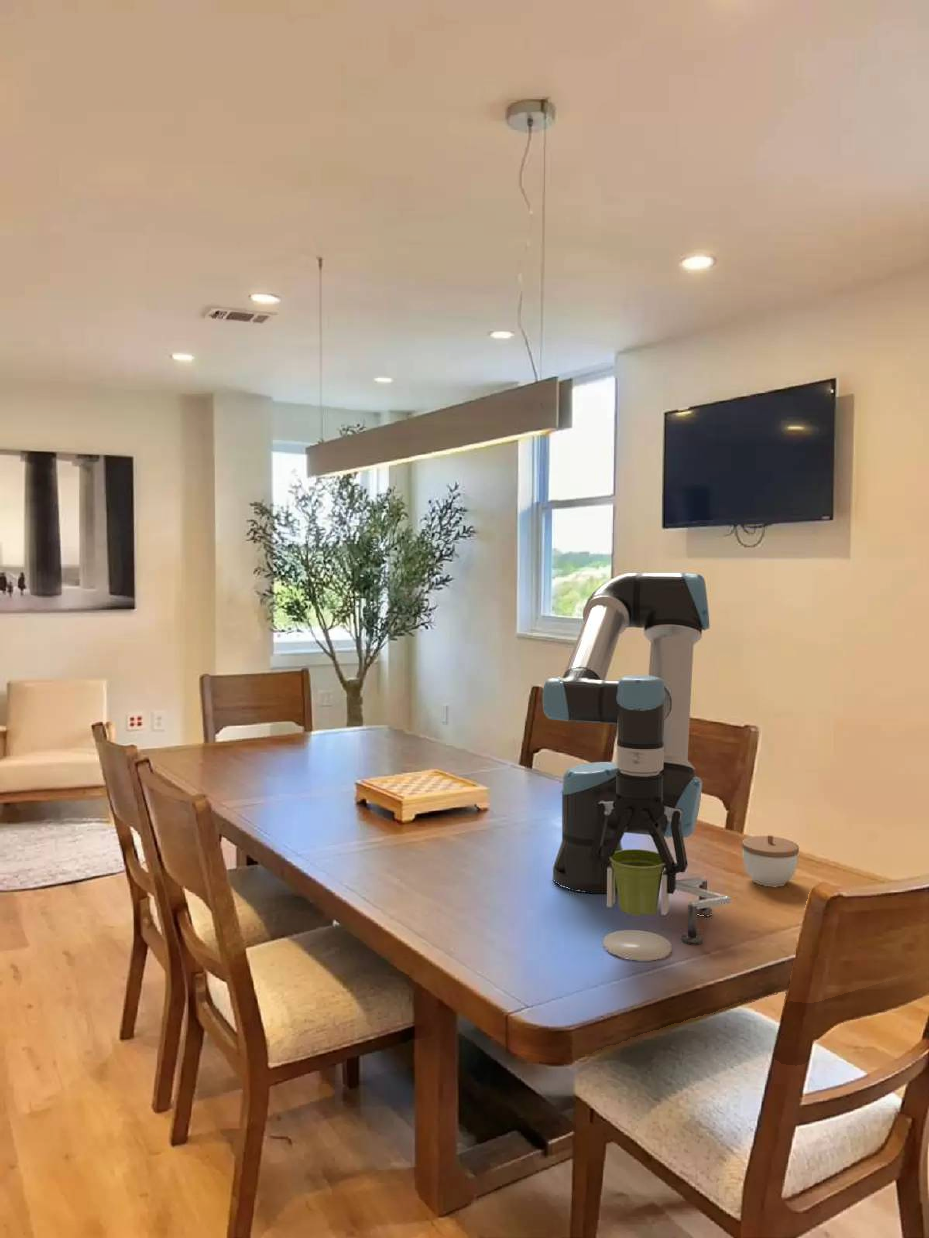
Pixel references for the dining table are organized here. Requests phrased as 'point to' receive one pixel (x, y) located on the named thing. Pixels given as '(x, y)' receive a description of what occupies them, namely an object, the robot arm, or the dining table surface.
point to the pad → (637, 945)
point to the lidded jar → (770, 859)
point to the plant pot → (638, 880)
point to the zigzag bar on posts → (699, 905)
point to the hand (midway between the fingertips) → (637, 907)
